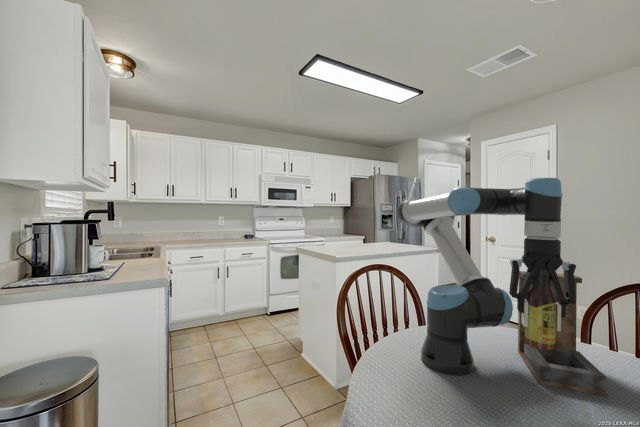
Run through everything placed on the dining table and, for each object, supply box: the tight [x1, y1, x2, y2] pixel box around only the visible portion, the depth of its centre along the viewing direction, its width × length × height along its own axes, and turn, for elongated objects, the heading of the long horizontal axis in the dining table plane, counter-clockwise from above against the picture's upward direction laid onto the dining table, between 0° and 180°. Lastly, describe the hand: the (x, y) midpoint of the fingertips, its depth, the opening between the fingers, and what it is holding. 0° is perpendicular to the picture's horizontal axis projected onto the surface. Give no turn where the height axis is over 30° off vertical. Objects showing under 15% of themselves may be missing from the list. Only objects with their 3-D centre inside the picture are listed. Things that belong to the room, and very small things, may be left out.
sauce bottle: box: [525, 270, 556, 350], centre depth 75 cm, size 6×6×20 cm
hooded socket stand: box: [517, 270, 609, 398], centre depth 86 cm, size 15×20×28 cm
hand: (540, 326), depth 75 cm, fingers closed on sauce bottle, 6 cm apart
